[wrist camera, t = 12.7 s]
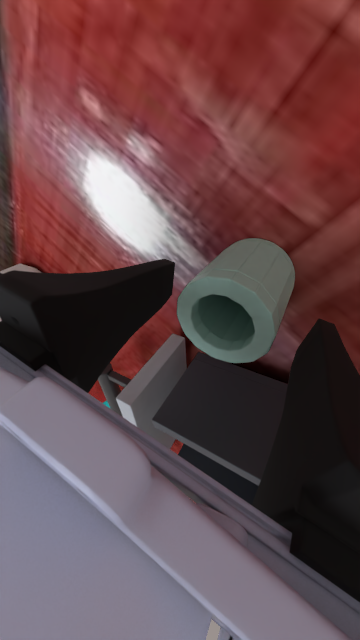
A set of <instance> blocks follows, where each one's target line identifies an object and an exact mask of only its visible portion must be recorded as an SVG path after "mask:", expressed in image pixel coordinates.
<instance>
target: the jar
mask: <svg viewBox="0 0 360 640" xmlns="http://www.w3.org/2000/svg"><path fill="white" fill-rule="evenodd" d="M294 282H295V270H294V266H293V263H292V261H291V259H290V258H289V256H288V255H287V253H286V252H285V251H284V250H283V249H282V248H280V247H279V246H278V245H276V244H274V243H272V242H270V241H267V240H264V239H258V238H249V239H244V240H240V241H238V242H235V243H234V244H232V245H230V246H229V247H228V248H226V249H225V250H223V251H222V252H221V253H220V254H219V255H218V256H217V257H216V258H215V259H214V260H213V261H212V262H211V263H210V264H209V265H207V266H206V267H205V268H204V269H203V270H202V271H201V272H200V273H199V274H198V275H197V276H196V277H195V278H194V279H193V280H191V281H190V282H189V283H188V284H187V285H186V287H185V288H184V290H183V291H182V293H181V294H180V295H179V297H178V301H177V315H178V316H177V317H178V319H179V322H180V325H181V327H182V330H183V331H184V333H185V335H186V336H187V337H188V338H189V339H190V340H191V342H192V343H193V344H194V345H195V346H197V348H199V349H200V350H202V351H203V352H205V353H206V354H208V355H210V356H211V357H214V358H216V359H219V360H223V361H226V362H230V363H246V362H253V361H255V360H257V359H258V358H260V357H262V356H264V355H265V354H267V353H268V351H269V350H270V348H271V346H272V343H273V341H274V339H275V337H276V334H277V332H278V329H279V326H280V323H281V321H282V318H283V315H284V312H285V310H286V307H287V304H288V301H289V299H290V296H291V293H292V291H293V288H294Z"/></svg>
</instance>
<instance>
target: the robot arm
mask: <svg viewBox="0 0 360 640" xmlns="http://www.w3.org/2000/svg"><path fill="white" fill-rule="evenodd" d="M174 268H175V263H174V262H172V261H169V260H167V259H161V260H156V261H151V262H147V263H143V264H139V265H134V266H130V267H125V268H120V269H115V270H109V271H101V272H92V273H73V274H56V273H37V272H27V271H17V270H13V271H9V272H6V273H4V274H1V275H0V318H1V319H2V321H0V640H206V636H207V633H208V629H209V625H210V622H211V619H212V620H213V621H215V622H216V623H217V624H218V625H219V626H220V627H221V628H220V632H219V635H218V640H360V375H359V373H358V372H357V370H356V368H355V366H354V365H353V363H352V361H351V359H350V357H349V355H348V353H347V351H346V349H345V347H344V344H343V342H342V340H341V338H340V336H339V333H338V331H337V329H336V327H335V325H334V324H332V323H330V322H327V321H325V320H322V319H320V318H319V319H318V320H317V322H316V323H315V325H314V326H313V327H312V329H311V330H310V332H309V333H308V335H307V336H306V337H305V339H304V340H303V342H302V343H301V345H300V346H299V347H298V349H297V351H296V354H295V357H294V360H293V363H292V366H291V370H290V376H289V381H288V387H287V392H286V398H285V403H284V409H283V413H282V418H281V421H280V424H279V427H278V431H277V434H276V437H275V440H274V443H273V446H272V449H271V452H270V455H269V458H268V461H267V464H266V467H265V470H264V473H263V476H262V479H261V481H260V484H259V487H258V489H257V492H256V495H255V498H254V500H253V503H252V505H250V504H249V503H247V502H246V501H245V500H243V499H242V498H240V497H239V496H237V495H236V494H234V493H233V492H231V491H230V490H228V489H227V488H226V487H224V486H223V485H221V484H220V483H218V482H217V481H215V480H214V479H212V478H211V477H209V476H208V475H207V474H205V473H204V472H202V471H201V470H199V469H198V468H196V467H195V466H193V465H192V464H190V463H189V462H188V461H186V460H185V459H183V458H182V457H180V456H179V455H177V454H176V453H174V452H173V451H171V450H170V449H169V448H167V447H166V446H164V445H163V444H161V443H160V442H158V441H157V440H155V439H154V438H152V437H151V436H150V435H148V434H147V433H145V432H144V431H142V430H141V429H139V428H138V427H136V426H135V425H133V424H132V423H131V422H129V421H128V420H126V419H125V418H123V417H122V416H120V415H119V414H117V413H116V412H114V411H113V410H112V409H110V408H109V407H107V406H106V405H104V404H103V403H101V402H100V401H98V400H97V399H95V398H94V397H93V396H91V395H90V394H88V392H89V391H90V389H91V388H92V386H93V385H94V384H95V382H96V381H97V379H98V378H99V376H100V375H101V374H102V372H103V371H104V370H105V368H106V367H107V366H108V364H109V363H110V361H111V360H112V359H113V358H114V356H115V355H116V354H117V353H118V351H119V350H120V349H121V348H122V347H123V345H124V344H125V343H126V342H127V341H128V340H129V338H130V337H131V336H132V335H133V334H134V333H135V332H136V331H137V330H138V329H139V328H140V327H141V326H142V325H144V324H145V323H146V322H147V321H148V320H149V319H150V318H151V317H152V316H153V315H154V314H155V313H156V312H157V311H158V310H159V309H161V308H162V306H163V305H164V304H165V303H166V302H167V300H168V299H169V298H170V296H171V295H172V289H173V279H174ZM187 496H188V497H187ZM191 499H192V500H193V501H194V502H196V504H195V503H194V502H193V501H192V500H191Z"/></svg>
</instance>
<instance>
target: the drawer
mask: <svg viewBox="0 0 360 640" xmlns="http://www.w3.org/2000/svg"><path fill="white" fill-rule="evenodd" d="M98 381H99V383H100V385H101V388H102V390H103V392H104V395H105V397H106V399H107V402H108V404H109V406H110V409H112V410H113V411H114V412H116V413H117V414H119V415H120V416H122V417H123V418H125V419H126V420H128V421H129V422H131V423H132V424H133V425H135V426H136V427H138V428H139V429H141V430H142V431H144V432H145V433H147V434H148V435H150V436H151V437H152V438H154V439H155V440H157V441H158V442H160V443H161V444H163V445H164V446H166V447H167V448H169V449H170V448H171V446H172V445H173V443H174V441H175V439H177V440H179V441H180V442H182V443H184V444H183V446H182V448H181V450H180V452H179V454H178V455H179V456H180V457H182V458H183V459H185V460H186V461H188V462H189V463H190V464H192V465H193V466H195V467H196V468H198V469H199V470H201V471H202V472H204V473H205V474H207V475H208V476H209V477H211V478H212V479H214V480H215V481H217V482H218V483H220V484H221V485H223V486H224V487H226V488H227V489H228V490H230V491H231V492H233V493H234V494H236V495H237V496H239V497H240V498H242V499H243V500H245V501H246V502H247V503H249V504H250V505H252V503H253V500H254V498H255V495H256V492H257V489H258V487H259V484H260V481H261V479H262V476H263V473H264V470H265V467H266V464H267V461H268V458H269V455H270V452H271V449H272V446H273V443H274V440H275V437H276V434H277V431H278V427H279V424H280V421H281V418H282V413H283V409H284V403H285V398H286V392H287V387H288V384H286V383H283V382H280V381H277V380H275V379H272V378H269V377H266V376H264V375H261V374H258V373H255V372H253V371H250V370H247V369H244V368H241V367H239V366H236V365H233V364H230V363H228V362H225V361H222V360H219V359H216V358H214V357H211V356H208V355H206V354H203V353H200V352H198V353H197V355H196V356H195V358H194V359H193V360H192V362H191V363H190V365H189V366H188V368H187V365H186V347H185V338H184V337H181V336H178V335H175V334H172V335H171V336H170V337H169V338H168V339H167V340H166V342H165V343H164V344H163V345H162V346H161V347H160V348H159V349H158V351H157V352H156V353H155V354H154V355H153V356H152V357H151V359H150V360H149V361H148V362H147V363H146V364H145V365H144V366H143V368H142V369H141V370H140V371H139V372H138V373H137V374H136V376H135V377H134V378H133V379H132V380H131V379H129V378H127V377H125V376H122V375H120V374H118V373H116V372H114V371H113V369H112V366H111V364H110V363H109V364H108V366H107V367H106V368H105V370H104V371H103V372H102V374H101V375H100V376H99V378H98ZM118 384H119V385H121V386H123V387H125V388H124V389H123V390H122V391H120V388H119V385H118Z"/></svg>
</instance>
